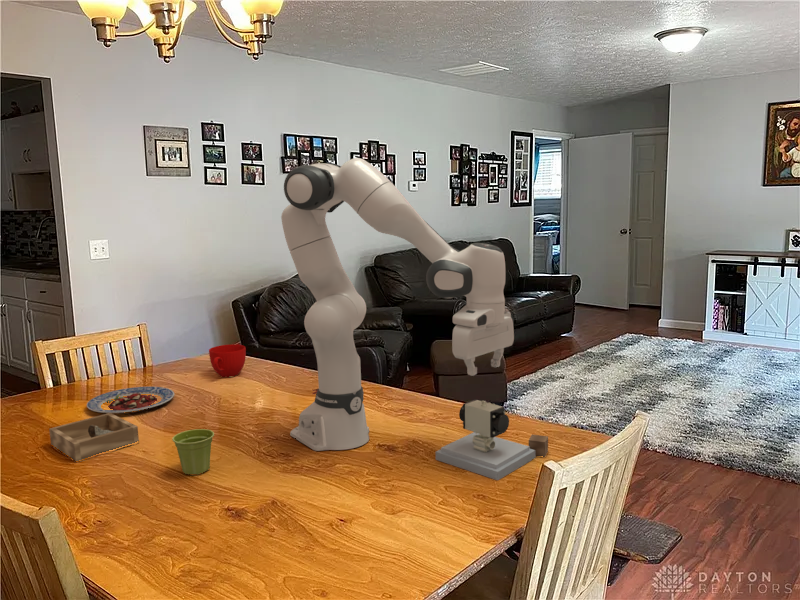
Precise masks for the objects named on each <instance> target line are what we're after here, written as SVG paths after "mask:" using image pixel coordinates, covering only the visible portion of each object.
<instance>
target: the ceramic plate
mask: <svg viewBox="0 0 800 600" xmlns="http://www.w3.org/2000/svg"><path fill="white" fill-rule="evenodd" d="M141 394H151V395H148V396H147V395H141ZM152 394H154V395H158V396H160V397H161V398H162V399H161V401H160V402H158V403H156V404H153V405H151V404H152V403H154V402H155V401H157V398H156V397H155V396H152ZM123 396H127V397H123ZM119 397H120V398H119ZM174 397H175V392H174V390H173V389H171V388H167V387H163V386H136V387H135V386H134V387H127V388H121V389H117V390H112V391H109V392H104V393H102V394H99V395H97V396H95V397H93V398H91V399H90V400H88V401H87V403H86V408H88V410H90V411H92V412H97V413H103V414H107V413H111V414H125V413H124V412H132V411H138V412H140V411H139V410H142V411H145V410H144V409H146V410H149V409H152V408H155V407H158V406H161V405H164V404H166V403H167V402H169V401H171V400H172V399H173V398H174ZM111 399H114V400H115V401H113V400H111ZM108 401H109V403H110V402H111V401H113V402H112V403H111V404H110V405H109V406H108V407H109V408H110V409H113V410H103V409H102V408H101V405H102V404H103V403H105V402H107V403H108ZM149 405H150V406H149ZM148 408H149V409H148ZM132 413H133V412H132Z"/></svg>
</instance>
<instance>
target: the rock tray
mask: <svg viewBox="0 0 800 600" xmlns="http://www.w3.org/2000/svg"><path fill="white" fill-rule="evenodd" d="M90 425H93V426H98V427H99V428H100V429H101V430H110V431H113V432H110V433H106V434H103V435H99V436H96V437H92V438H91V437H90V435H89V433H88V428H89V426H90ZM48 430H49V438H50V440H49V441H50V446H51V445H53V446H54V447H56V448H57V449H59V450H60V451H62V452H63V453H65V454H66V455H68V456H69V457H71V458H72V459H73V460H75V461H79V460H82V459H85V458H88V457H91V456H93V455H96V454H99V453H102V452H106V451H109V450H113V449H116V448H119V447H122V446H125V445H128V444H132V443H135V442H137V441H139V442H140V439H139V426H137V425H136V424H134V423H131V422H129V421H128V420H126V419H123V418H121V417H120V416H118V415H115V414H114V413H103V414H101V415H97V416H91V417H89V418H85V419H81V420H78V421H73V422H69V423H65V424H61V425H58V426H54V427H51V428H49V429H48ZM54 447H53V448H54ZM57 449H56V450H57ZM60 451H59V452H60ZM63 453H62V454H63ZM66 455H65V456H66ZM69 457H68V458H69ZM72 459H71V460H72ZM73 460H72V461H73ZM75 461H74V462H75Z"/></svg>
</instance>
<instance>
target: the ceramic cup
mask: <svg viewBox="0 0 800 600" xmlns="http://www.w3.org/2000/svg"><path fill="white" fill-rule="evenodd" d="M246 351H247V349H246V346H245V345H242V344H235V343H233V344H221V345H217V346H213V347H211V348H209V349H208V354H209V360H210V361H209V362H210V364H211V367H212V369H213V370H214V371H215V373H216V374H217V375H218V376H219V377H220V376H222V377H221V378H230V377H229V376H234V377H236V376H235V375H237V376H238V375H239V374H240V373H241V372H242V370H243V368H244V365H245V363H246V357H247V355H246V354H247V352H246Z"/></svg>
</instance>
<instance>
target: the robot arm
mask: <svg viewBox="0 0 800 600" xmlns="http://www.w3.org/2000/svg"><path fill="white" fill-rule="evenodd" d="M283 193H284V196H285V198H286V200H287V201H288V203H290V204H289V205H287V206H286V207H285V208H284V210H282V213H281V216H280V218H281V225H282V230H283V234H284V238H285V241H286V244H287V245H286V246H287V248H288V251H289V253H290V256H291V258H292V261H293V264H294V266H295V269H296V272H297V274H298V277H299V279H300V281H301V283H303V284H304V285H305V286H306V287H307V288H308V289H309V291H310V292H311V294H312V295H313V297H314V299H315V300H316V301H315V302H314V303H313V304H312V305H311V307H310V308H309V309H308V311H307V312H306V314H305V316H304V321H303V322H304V323H303V325H304V328H305V329H304V330H305V332H306V334H307V335H308V336H309V337H310V339H311V342H312V345H313V349H314V352H315V357H316V363H317V377H318V379H317V380H318V388H316V389H312V395H315V398H314V401H313V402H312V403H311V404H309V405H308V406H307V407H306V408H305V409H303V410H301V412H300V414H299V417H298V426H296V427H295V428H292V429H291V430H290V433H289V434H290V436H291V437H292V438H293V439H295V438H296V439H295V440H297V441H299V443H302V444H303V445H305V446H306V447H308V448H310V449H312V451H315V452H317V451H318V452H320V451H329V450H331V451H343V450H351V449H354V448H355V449H356V448H359V447H361V446H363V445H365V444H367V443H368V442H369V440H370V435H369V432H370V427H369V426H368V425H367V418H366V417H367V416H366V411H365V404H364V403H363V401H364V388H363V386H362V373H361V369H362V368H361V357H360V356H359V354H358V352H357V349H356V345H355V340H354V330H355V329H357V328H358V327H360V326H361V324H362V322H363V321H364V319H365V317H366V314H367V303H366V302H365V301H366V300H365V299H364V298H363V296H361V295H360V294H359V292H357V289H356V288H355V286H354V284H353V282H352V281H351V279H350V277H349V275H348V274H347V272H346V271H345V269H344V267H343V265H342V262H341V260H340V258H339V255H338V252H337V249H336V247H335V244H334V241H333V239H332V236H331V234H330V231H329V229H328V226H327V222H326V216H327V213H329V214H330V213H333V212H334V211H335V210H336V209H337V208H338V207H339V206H341V205H342V204H343V203H346V204H347V205H349V206H350V207H351V208H352V210H353V211H354V212H355V213H356V214H357V215H358V217H360V218H361V219H362V220H363V221H364V222H365V223H366V224H367V225H369V227H371V228H373V229H374V230H376V231H377V232H378V233H380V234H381V233H382V234H385V235H390V236H394V237H397V238H401V239H404V240H405V241H407V242H409V243H410V244H411V245H413V246H414V247H415V248H416V249H417V250H418V251H419V252H420V253H421V254H422V255H423V256H424V257H425V258H426V259H427V260H429V262H430V263H431V264H430V266H428V269H427V271H426V274H425V276H426V277H425V282H426V284H427V287H428V289H429V291H430V292H431V294H433V295H435V296H437V297H438V298H441V299H453V298H457V297H463V296H464V297H466V305H464V306H462V308H461V309H460V310H458V311H457V312H455V313H454V315H453V316H452V323H453V324H454V325H455V326H454V327H453V329H452V339H451V340H452V341H451V343H452V346H451V349H452V354H453V356H454V358H456V359H458V360H463V362H464V364H465V367H466V369H467V370H466V372H467V376H471V377H472V376H473V377H474V376H476V375H477V374H478V367H477V366H475V363H474V362H475V361H476V358H477V357H479V356H482V355H485V354H489V353H491V352H493V356H492V358H491V359H490V366H491V368H497V367H498V368H499V367H500V366H501V359H502V357H503V355H504V353H505V352H504V351H505V348H509V347H511V346H513V344H514V340H515V333H514V331H515V329H514V321H513V318H512V315H511V314H512V313H511V312H510V310H509V309H508V308H506V306H505V305H506V298H505V295H504V289H505V285H506V261H505V255H504V251H502V249H501V247H498V246H497V245H494V244H491V243H485V242H484V243H483V242H473V243H471V244H470V245H469V246H467V247H466V248H463V249H461V250H459V249H457V248H455V247H453V246H452V245H451V244H450V243H449V242H447V241H446V240H445V239H444V238H443V237H442V236H441V235H440V234H439V233H438V232H437V231H436V230H435V229H434V228H433V227H432V226H431V225H430V224H428V222H427V221H426V220H424V218H422V217H421V216H422V215H420V214H419V213H418V212H417V210H416V209H415V208H414V207H413V206H412V205H411V204H410V202H409V201H408V200H407V199H406V197H405V196H404V195H403V194H402V192H400V189H398V188H397V187H396V185H395V184H394V183H393V182H392V181H391V180H389V178H387V176H385V174H383V173H382V171H379V169H378V168H376V167H375V166H374V165H372V164H371V163H370V162H369V161H367V160H365V159H363V158H360V157H354V158H351V159H349V160H347V161H345V162H344V163H343V164H342V165H339V164H335V163H323V162H317V163H313V164H303V165H300V166H297V167H294V168H293V169H292V170H291V171H290V172H289V173H288V174H287V175H286V177H285V179H284V183H283Z"/></svg>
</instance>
